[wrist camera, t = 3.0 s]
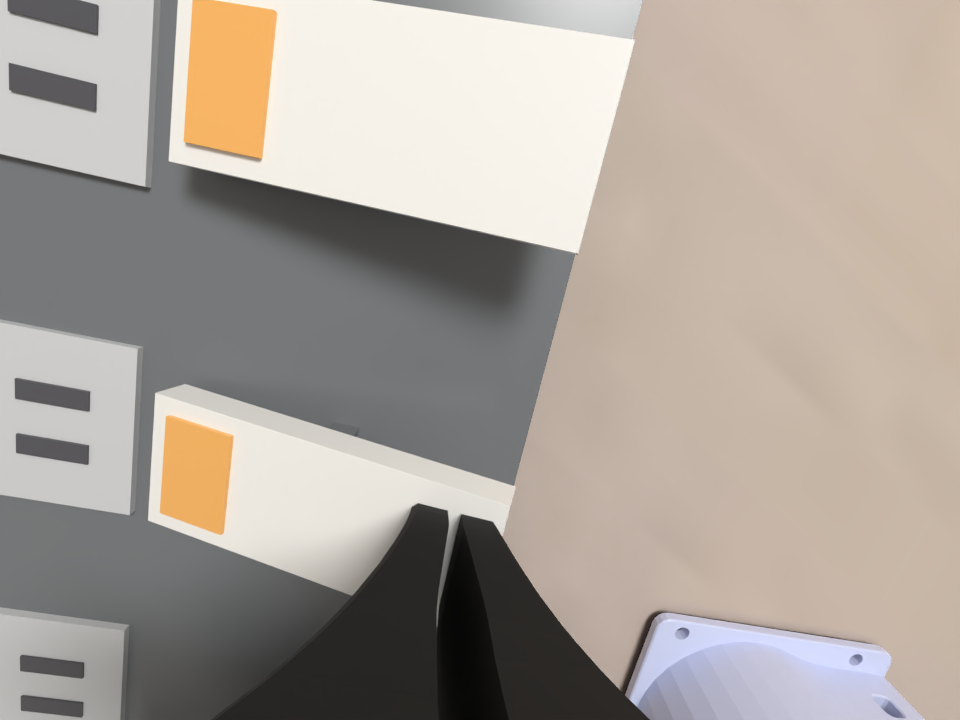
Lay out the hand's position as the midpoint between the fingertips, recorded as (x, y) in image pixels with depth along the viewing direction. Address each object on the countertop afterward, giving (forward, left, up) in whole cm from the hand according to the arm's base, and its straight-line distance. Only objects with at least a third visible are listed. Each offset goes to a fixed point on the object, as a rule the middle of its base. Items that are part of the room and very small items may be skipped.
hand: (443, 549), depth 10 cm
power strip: (+5, 0, -6) cm, 8 cm away
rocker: (+3, -8, -1) cm, 9 cm away
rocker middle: (+3, 0, -1) cm, 3 cm away
